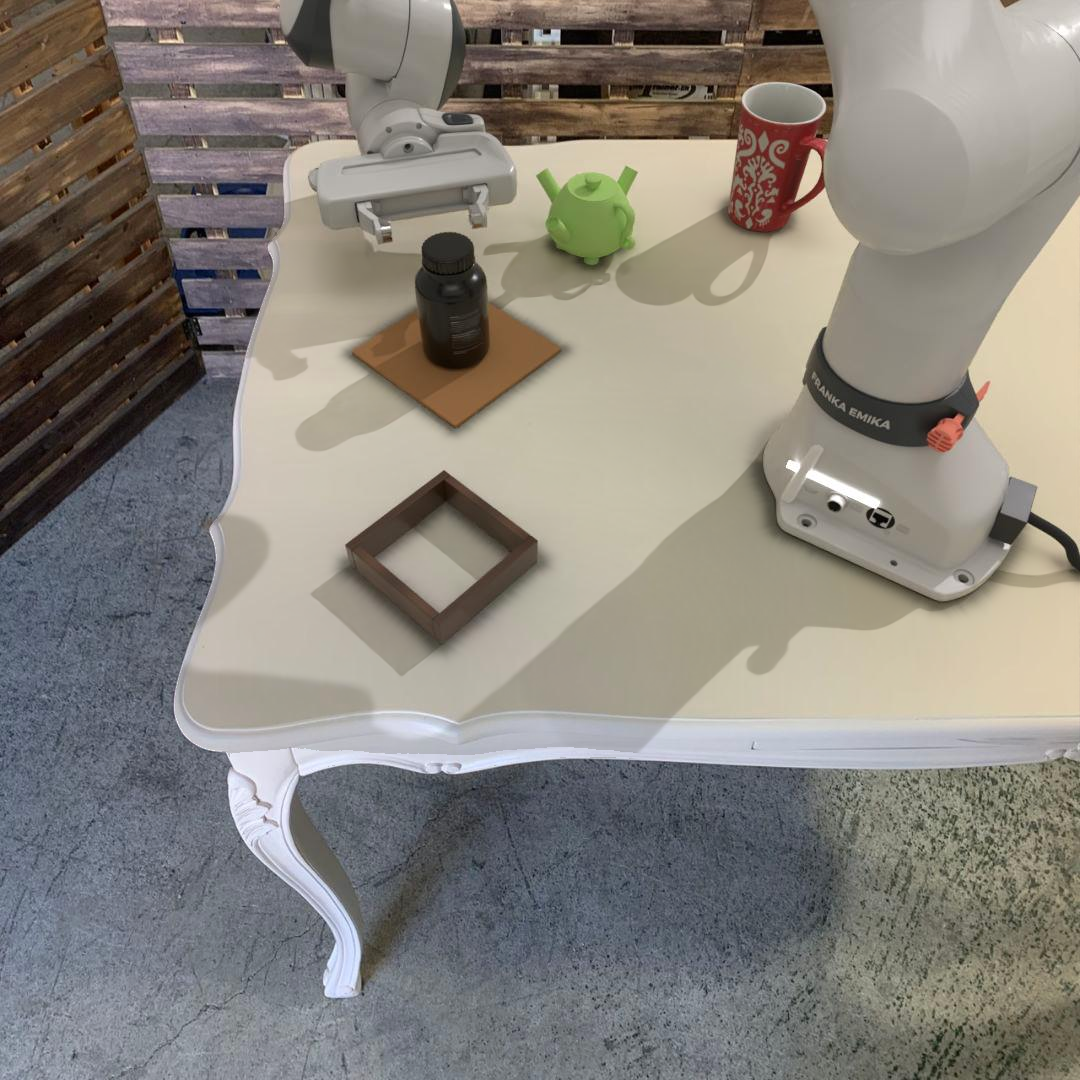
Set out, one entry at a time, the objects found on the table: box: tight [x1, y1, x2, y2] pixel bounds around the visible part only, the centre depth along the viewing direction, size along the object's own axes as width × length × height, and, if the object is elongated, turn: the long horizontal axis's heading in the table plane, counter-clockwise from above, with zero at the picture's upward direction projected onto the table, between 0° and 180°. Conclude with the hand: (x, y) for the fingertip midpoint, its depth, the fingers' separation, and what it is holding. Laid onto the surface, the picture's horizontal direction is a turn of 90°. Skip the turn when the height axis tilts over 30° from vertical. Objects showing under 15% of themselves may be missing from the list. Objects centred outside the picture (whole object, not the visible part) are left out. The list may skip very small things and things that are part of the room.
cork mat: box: [351, 301, 562, 429], centre depth 91 cm, size 15×15×1 cm
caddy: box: [344, 469, 539, 645], centre depth 74 cm, size 11×11×3 cm
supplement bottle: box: [414, 231, 490, 369], centre depth 86 cm, size 7×7×12 cm
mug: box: [727, 81, 827, 232], centre depth 100 cm, size 13×9×14 cm
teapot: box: [535, 165, 639, 266], centre depth 99 cm, size 11×12×8 cm
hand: (432, 229), depth 87 cm, fingers open, 8 cm apart
